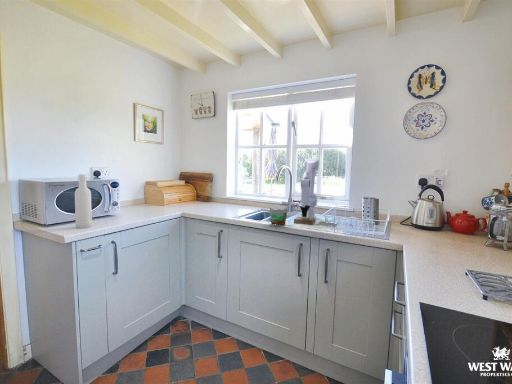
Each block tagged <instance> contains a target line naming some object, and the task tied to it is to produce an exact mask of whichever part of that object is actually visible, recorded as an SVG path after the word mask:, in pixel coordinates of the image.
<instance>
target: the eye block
mask: <svg viewBox="0 0 512 384" xmlns="http://www.w3.org/2000/svg"><path fill="white" fill-rule="evenodd" d="M315 222H316V217H315V218H310V217H308V219H301V216H296V217H295V218H294V219H293V224H302V225H314V223H315Z"/></svg>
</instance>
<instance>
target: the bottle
mask: <svg viewBox="0 0 512 384" xmlns="http://www.w3.org/2000/svg"><path fill="white" fill-rule="evenodd" d="M87 186H88V185H87V175H86V174H78V187H77V188H76V189H75V191H74V209H75V210H74V211H75V212H74V213H75V215H74V216H75V228H76V229H89V228H91V227H93V217H92V216H93V215H92V214H93V213H92V212H93V211H92V208H93V207H92V192H91V190H90V188H88V187H87Z"/></svg>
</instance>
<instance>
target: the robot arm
mask: <svg viewBox="0 0 512 384" xmlns="http://www.w3.org/2000/svg"><path fill="white" fill-rule="evenodd" d="M319 166H320V159H319V158H318V157H317V158H305V159H304V168H305V170H306V171H304V173H303V176H302V178H301V180H300V190H301V191H300V192H301V193H300V195H301V198H300V202H299V205H301V206H299V208H300V211H301V216H303V217H306V215H307V210H308V217H310V218H315V219H316V217H317V216H316V214H315V213H316V206H317V205H318V195H317V194H316V193H315V180H316V173H317V171H319V168H320V167H319Z"/></svg>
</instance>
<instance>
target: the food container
mask: <svg viewBox="0 0 512 384" xmlns="http://www.w3.org/2000/svg"><path fill="white" fill-rule="evenodd" d="M269 213H270V222H271V223H272V224H271V225H273V224H276V225H275V226H284V225H286V223H287V214H288V213H289V211H288V209H279V208H278V209H277V208H276V209H273V208H272V207H270V209H269Z"/></svg>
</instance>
